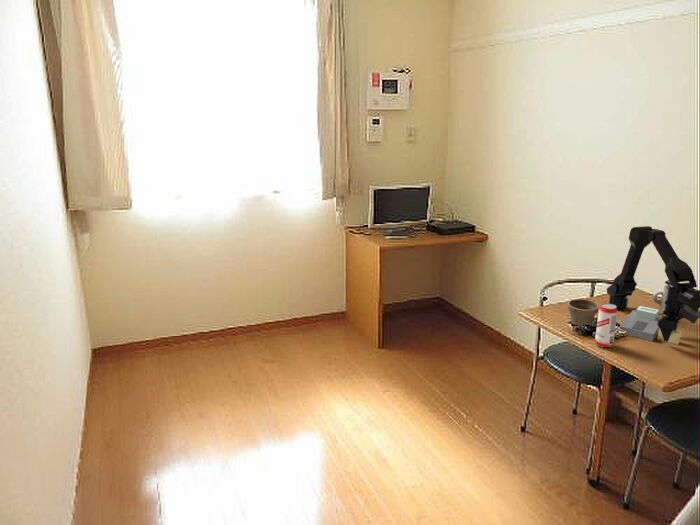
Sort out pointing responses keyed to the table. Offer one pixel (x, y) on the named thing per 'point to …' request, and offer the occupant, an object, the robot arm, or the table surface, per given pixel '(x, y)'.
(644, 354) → the table surface
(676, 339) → the gold faceted block
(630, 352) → the table surface
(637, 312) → the cover
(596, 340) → the beer can
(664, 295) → the coffee mug
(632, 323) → the housing
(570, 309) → the flower pot
